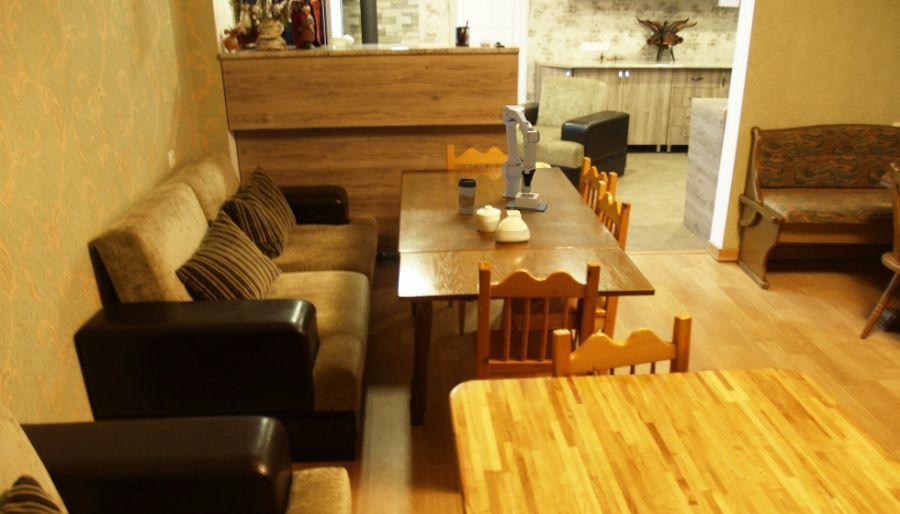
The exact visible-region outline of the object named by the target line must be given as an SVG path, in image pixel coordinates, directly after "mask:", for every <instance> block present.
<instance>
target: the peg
mask: <svg viewBox="0 0 900 514" xmlns="http://www.w3.org/2000/svg"><path fill="white" fill-rule="evenodd" d="M531 180H532V181H533V178H532V179H531ZM520 192H521V193H532V182H531V183H530V186H529V187H525V184H524V178H523V175H522V177H521V185H520Z"/></svg>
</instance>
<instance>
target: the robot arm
mask: <svg viewBox="0 0 900 514" xmlns="http://www.w3.org/2000/svg"><path fill="white" fill-rule="evenodd" d="M501 114H502V124H504V125H505V130H506V131H505V132H506V146H507V147H506V148H507V159H506V160H504V162H503V163H502V169H501V171H502V176H503V178H504V179H505V182H504V193H503V194H502V197H504V198H511V199H513V198H514V199H515V197H516V195H517V194H518V192H520V191H521V180H522V175H523V178H524V184H525V187H529V186H530V183H531V184H532V181H533V178H534V174H535V172H536V171H537V169H536V168H537V166H536V165H537V163H536V162H537V150H538V144H539V143H540V139H541V133H540V131H539V130H538V129H535V128H534V126H533V125H532V124H531V121H529V120H527V119H526V107H524V105H523V104H522V105H504V106H503V107H502V112H501ZM517 125H518V128H519V129H518V130H519V131H520V132H521V134H522V142H523V143H522V144H523V147H524V149H523V161H522V160H521V159H520V158H519V154H518V138H517ZM531 179H532V180H531Z"/></svg>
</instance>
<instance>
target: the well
mask: <svg viewBox="0 0 900 514" xmlns="http://www.w3.org/2000/svg"><path fill="white" fill-rule="evenodd" d="M547 207H548V203H547V202H540V193H535V192H530V193H521V191H519V192H518V194H517V195H516V197H515V198H514V199H509V201H508V202H507V204H506V205H505V209H508V208H513V209H512V210H517V211H519V210H521V211H528V212H530V211H531V212H540V213H544V212H546V208H547Z"/></svg>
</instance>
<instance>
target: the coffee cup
mask: <svg viewBox="0 0 900 514" xmlns="http://www.w3.org/2000/svg"><path fill="white" fill-rule="evenodd" d="M457 186H458V208H459V209H458V210H459V211H458V212H459V213H460V214H462V215H472V214H473V212H474V208H475V207H474V206H475V201H476V191H477V182H476V179H474V178H460V179H459V181H458V184H457Z"/></svg>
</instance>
